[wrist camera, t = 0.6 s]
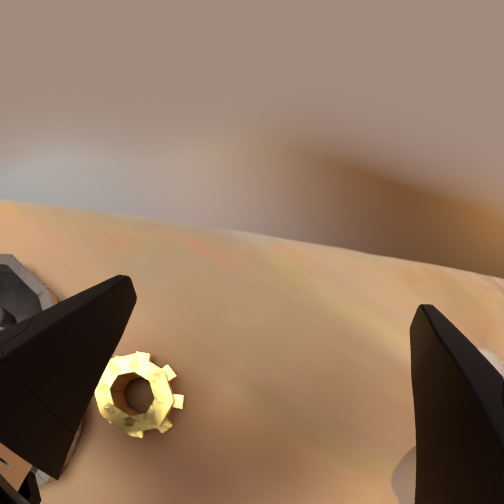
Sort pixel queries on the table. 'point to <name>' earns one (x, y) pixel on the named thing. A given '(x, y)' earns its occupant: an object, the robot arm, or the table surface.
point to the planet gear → (114, 400)
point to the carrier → (25, 316)
